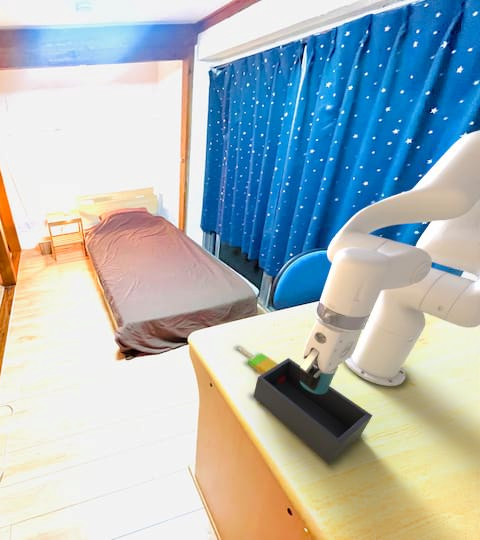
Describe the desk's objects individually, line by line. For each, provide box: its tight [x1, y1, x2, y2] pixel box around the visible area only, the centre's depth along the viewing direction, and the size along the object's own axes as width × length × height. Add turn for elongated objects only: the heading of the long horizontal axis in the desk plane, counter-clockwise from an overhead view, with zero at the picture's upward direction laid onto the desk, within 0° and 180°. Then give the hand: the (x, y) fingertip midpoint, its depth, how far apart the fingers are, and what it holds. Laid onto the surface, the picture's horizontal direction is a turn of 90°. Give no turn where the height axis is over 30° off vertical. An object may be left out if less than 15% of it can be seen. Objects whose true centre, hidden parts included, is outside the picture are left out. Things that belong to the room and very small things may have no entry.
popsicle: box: [237, 346, 285, 383], centre depth 80 cm, size 6×3×15 cm
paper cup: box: [300, 364, 339, 394], centre depth 60 cm, size 5×5×7 cm
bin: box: [252, 357, 373, 465], centre depth 65 cm, size 12×19×8 cm, turn 28°
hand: (316, 378), depth 60 cm, fingers closed on paper cup, 5 cm apart
